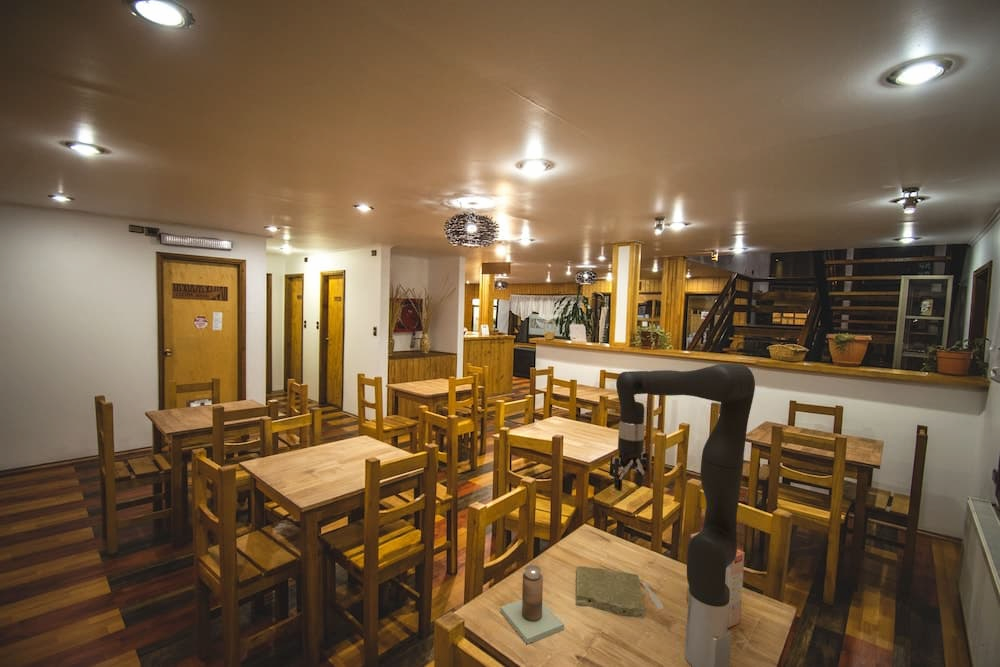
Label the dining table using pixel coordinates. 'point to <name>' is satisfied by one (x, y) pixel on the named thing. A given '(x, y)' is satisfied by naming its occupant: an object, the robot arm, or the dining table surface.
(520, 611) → the serving board
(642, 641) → the dining table surface
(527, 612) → the pepper mill
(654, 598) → the butter knife
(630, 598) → the decorative tile
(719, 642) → the robot arm
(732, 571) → the cracker box
